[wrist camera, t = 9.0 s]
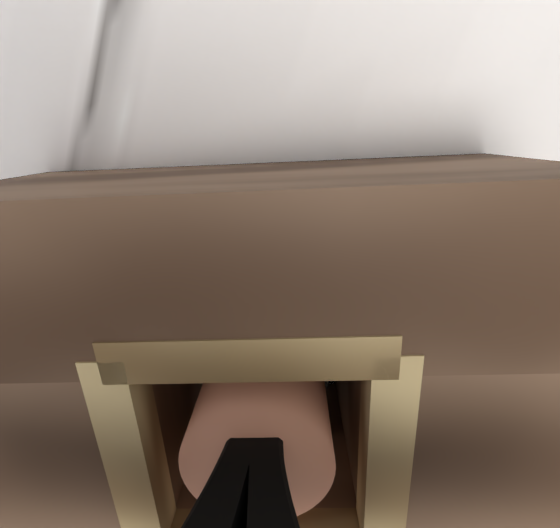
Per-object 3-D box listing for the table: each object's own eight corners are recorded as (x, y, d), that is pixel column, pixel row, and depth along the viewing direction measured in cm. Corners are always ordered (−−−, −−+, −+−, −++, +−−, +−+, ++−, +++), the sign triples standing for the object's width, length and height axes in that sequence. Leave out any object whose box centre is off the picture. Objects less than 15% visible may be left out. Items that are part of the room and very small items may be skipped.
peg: (216, 297, 14) (167, 405, 9) (318, 294, 14) (336, 403, 8) (225, 382, 16) (189, 523, 10) (318, 380, 15) (335, 522, 10)
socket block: (47, 172, 13) (-178, 208, 7) (484, 153, 13) (682, 174, 6) (119, 456, 18) (25, 634, 12) (441, 453, 18) (530, 640, 11)
